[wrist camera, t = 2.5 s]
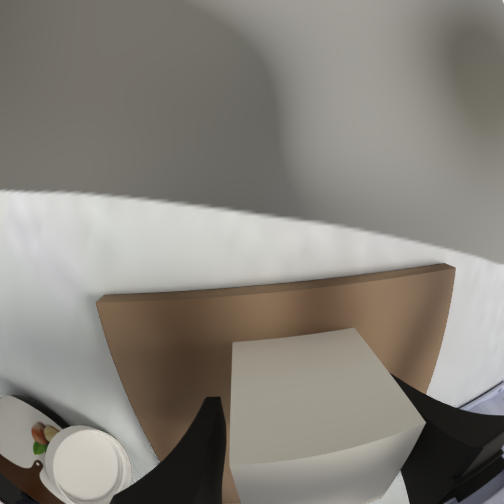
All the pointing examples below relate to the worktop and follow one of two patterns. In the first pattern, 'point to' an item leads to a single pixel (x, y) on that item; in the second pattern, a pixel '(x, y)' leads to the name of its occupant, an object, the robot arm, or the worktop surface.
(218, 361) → the walnut board
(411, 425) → the rounded beige cube
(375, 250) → the worktop surface
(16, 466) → the spread jar
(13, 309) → the worktop surface
